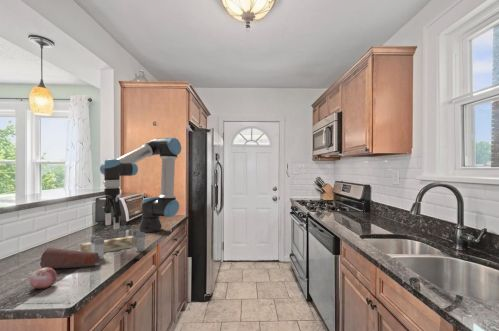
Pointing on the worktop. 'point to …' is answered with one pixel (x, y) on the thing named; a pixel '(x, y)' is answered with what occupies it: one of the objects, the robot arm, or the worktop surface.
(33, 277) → the onion
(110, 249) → the mat
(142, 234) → the post
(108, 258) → the worktop surface
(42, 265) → the food
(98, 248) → the post
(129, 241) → the rail
